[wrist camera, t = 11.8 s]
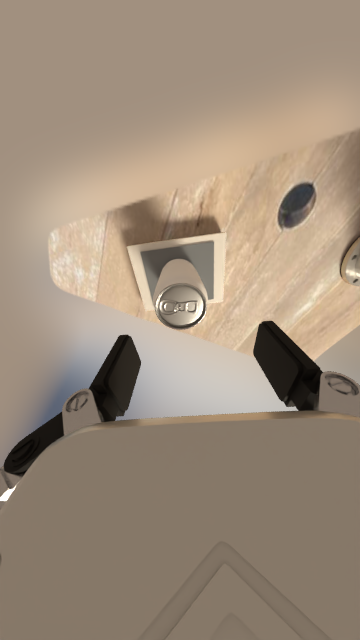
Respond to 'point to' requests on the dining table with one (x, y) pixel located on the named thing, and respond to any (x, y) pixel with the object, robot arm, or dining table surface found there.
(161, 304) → the can
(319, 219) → the dining table surface
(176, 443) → the robot arm
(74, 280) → the dining table surface
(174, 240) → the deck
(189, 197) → the dining table surface
